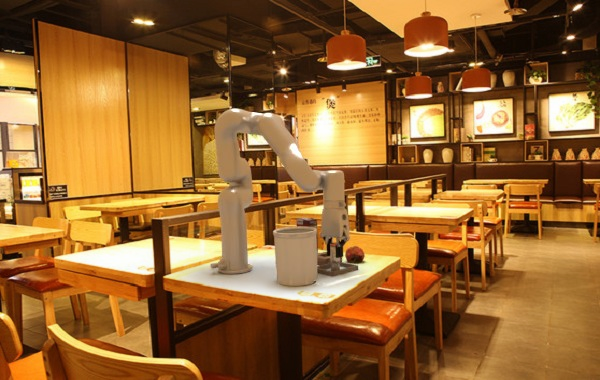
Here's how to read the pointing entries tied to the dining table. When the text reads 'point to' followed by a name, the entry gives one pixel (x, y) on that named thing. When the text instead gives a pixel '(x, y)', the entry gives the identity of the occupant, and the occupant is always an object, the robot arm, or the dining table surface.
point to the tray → (338, 272)
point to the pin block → (324, 259)
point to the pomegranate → (354, 254)
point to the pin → (334, 257)
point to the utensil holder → (296, 255)
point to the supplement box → (308, 224)
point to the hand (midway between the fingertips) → (335, 255)
